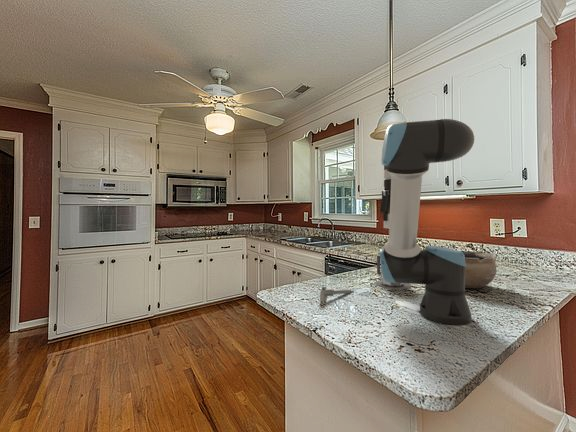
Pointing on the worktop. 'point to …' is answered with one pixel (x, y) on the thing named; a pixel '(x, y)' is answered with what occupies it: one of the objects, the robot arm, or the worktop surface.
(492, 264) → the ceramic bowl
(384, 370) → the worktop surface
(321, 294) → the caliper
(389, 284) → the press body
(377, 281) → the trivet
